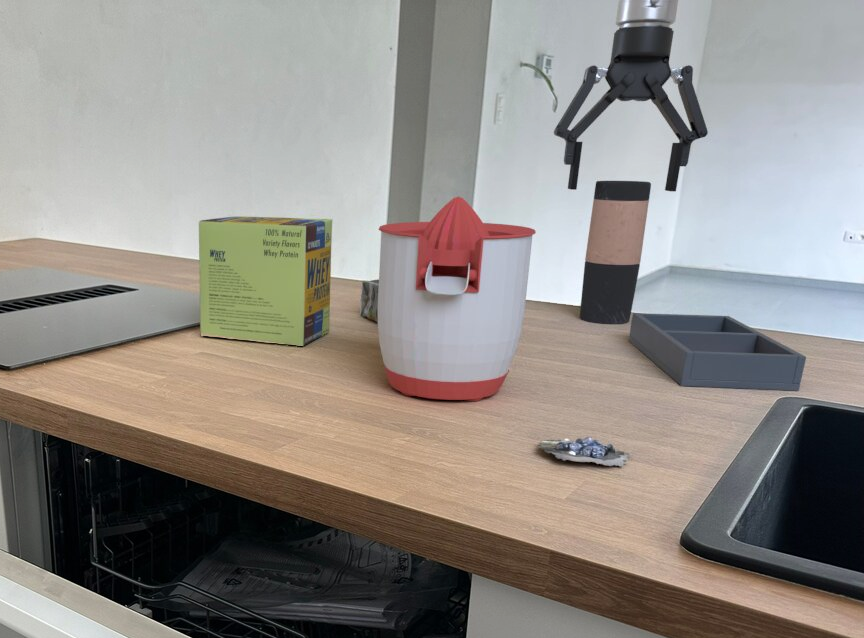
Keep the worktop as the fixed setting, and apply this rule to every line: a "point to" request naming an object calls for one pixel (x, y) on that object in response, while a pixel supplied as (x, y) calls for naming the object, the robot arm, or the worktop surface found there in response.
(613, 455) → the blueberries
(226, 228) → the protein box
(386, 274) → the citrus juicer
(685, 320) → the grey divided tray
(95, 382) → the worktop surface
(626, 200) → the travel mug
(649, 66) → the robot arm
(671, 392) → the worktop surface
